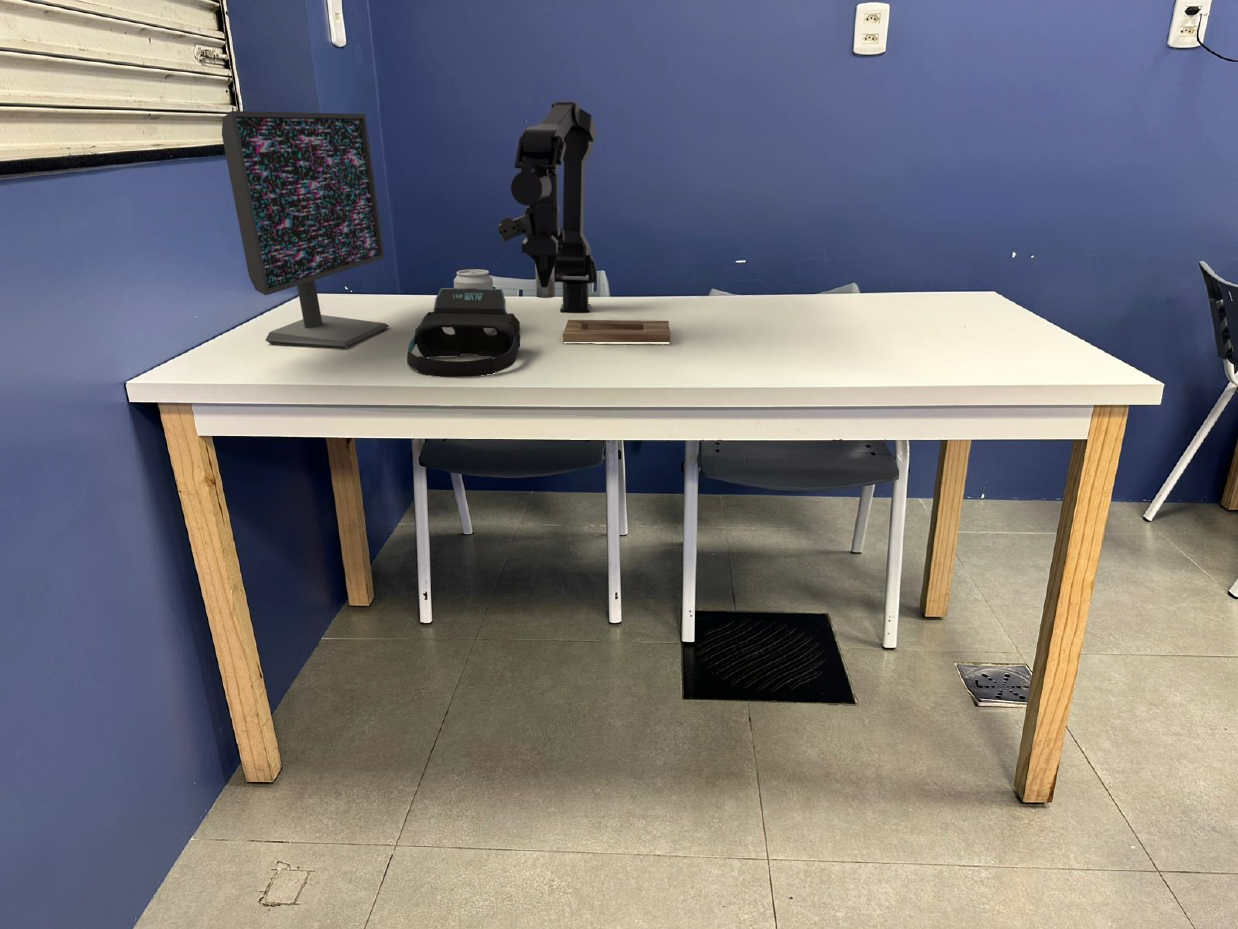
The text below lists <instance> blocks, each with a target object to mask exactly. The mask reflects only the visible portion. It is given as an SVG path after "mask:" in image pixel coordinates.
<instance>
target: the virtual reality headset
mask: <svg viewBox="0 0 1238 929" xmlns="http://www.w3.org/2000/svg"><path fill="white" fill-rule="evenodd" d="M504 294H505V293H504V290H503V289H502V288H493V289H475V288H454V287H440V289H439V291H438V293H437V294H436V297H435V301H434V305H433V306H434V307H433V311H428V312H427V313H426V314H425V316H424V317H423V318H422V319H421V322H420V323H419V325H418V326H417V327H416V328H415V331H414V335H413V337H412V338H411V341H410V343H409V344H408V348H407V353H406V362H407V365H408V367H410V368H411V369H412V370H414V371H417V374H421V375H423V376H424V375H425V376H429V375H431V377H438V376H440V377H441V378H470V377H471V378H472V377H482V376H481V375H485V376H488V375H487V374H493V373H495V374H496V373H498V372H501V371H504V370H506V369H508V368H510V367H511V366H513V365H514V363H516V361H517V359H518V356H519V352H520V351H519V350H520V348H521V334H520V333H521V332H520V331H521V322H520V321H519V319H518V318H517V317H516V316H515V315H514V313H511V312H510V313H508V312H507V308H506V306H507V305H506V298H505V295H504ZM444 328H451V329H452V330H453V332H454V333H453V334H451V333H447V332H445V330H444ZM483 328H493V330H494V331H495V332H496V333H495V334H487V333H485V331H484V329H483ZM416 346H417V349H418V352H419V354H420V355H416V354H414V353H413V351H414V349H415V347H416ZM461 354H464V355H475V354H477V355H478V356H489V357H484V358H479V359H473V360H471V359H470V360H442V359H435V358H440V357H439V356H458V357H460V355H461ZM477 355H476V356H477ZM437 356H438V357H437ZM461 356H462V355H461ZM478 356H477V357H478ZM490 356H491V357H490ZM427 357H430V358H427ZM493 375H494V374H493ZM440 377H439V378H440Z"/></svg>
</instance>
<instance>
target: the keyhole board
mask: <svg viewBox="0 0 1238 929" xmlns="http://www.w3.org/2000/svg"><path fill="white" fill-rule="evenodd" d="M563 342H670V343H671V329H670V322H669V320H638V319H637V320H631V319H630V320H627V319H626V320H623V319H621V320H619V319H567V322H566V325H565V328H564V330H563V333H562V343H563Z"/></svg>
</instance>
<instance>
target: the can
mask: <svg viewBox="0 0 1238 929" xmlns="http://www.w3.org/2000/svg"><path fill="white" fill-rule="evenodd" d="M489 273H490V271H489V270H487V269H477V268H476V269H462V270H457V271H456V276H455V278H454V279H453V288H475V289H494V284H493V278H492V276H490V275H489ZM483 329H484V331H485V333H487V334H488V335H490V334H491V333H492V332H493V331H494V329H493V328H483Z"/></svg>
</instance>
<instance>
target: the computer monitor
mask: <svg viewBox="0 0 1238 929" xmlns="http://www.w3.org/2000/svg"><path fill="white" fill-rule="evenodd" d="M221 125H222V126H221V137H222V142H223V149H224V152H225V158H226V163H227V169H228V173H229V174H228V175H229V179H230V184H231V189H232V195H233V200H234V205H235V209H236V210H235V211H236V215H237V220H238V225H239V226H238V227H239V231H240V237H241V242H242V248H243V251H244V252H243V253H244V257H245V262H246V267H247V273H248V277H249V279H250V282H251V284H252V286H253V288H254V290H255V291H256V292H258V293H260V294H262V295H263V296H268V295H272V294H274V293H279V292H281V291H284V290H285V291H286V290H288V289H291V288H294V287H296V288H297V292H298V293H297V294H298V298H299V299H298V300H299V303H300V304H299V305H300V310H301V315H302V319H300V320H297V321H294V322H292V323H289V324H287V325H285V326H284V325H283V326H281V327H279V328H276V329H274V330H271V331H269V332H268V335H267V336H266V338H265V342H267V343H269V344H271V345H282V346H283V345H285V346H300V347H315V348H317V347H318V348H331V349H333V348H334V349H347V348H349V347H351V346H354V345H355V344H357V343H360V342H361V341H364V340H366V339H367V338H369V337H372V336H374V335H375V334H378V333H381V332H382V331H384V330H386V329H387V328H389V327H390V324H388V323H386V322H379V321H373V320H372V321H370V320H362V319H356V318H347V317H341V316H339V317H338V316H332V315H326V314H325V315H324V314H321V307H320V303H319V298H318V291H317V287H316V286H317V285H316V280H320V279H323V278H326V277H329V276H332V275H337V274H339V273H341V272H345V271H349V270H351V269H355V268H357V267H361V266H365V265H367V264H370V263H374V262H378V261H380V260H383V259H385V258H386V257H385V251H384V244H383V235H382V228H381V221H380V213H379V205H378V197H377V191H376V190H377V189H376V183H375V176H374V170H373V162H372V154H371V146H370V140H369V133H368V132H369V131H368V123H367V117H366V113H334V112H333V113H330V112H329V113H327V112H326V113H323V112H293V111H292V112H290V111H289V112H288V111H287V112H286V111H254V110H253V111H247V110H244V111H243V110H231V111H229V112H228V113H227V114H225V115H224V116H223V117H222V124H221Z"/></svg>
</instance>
